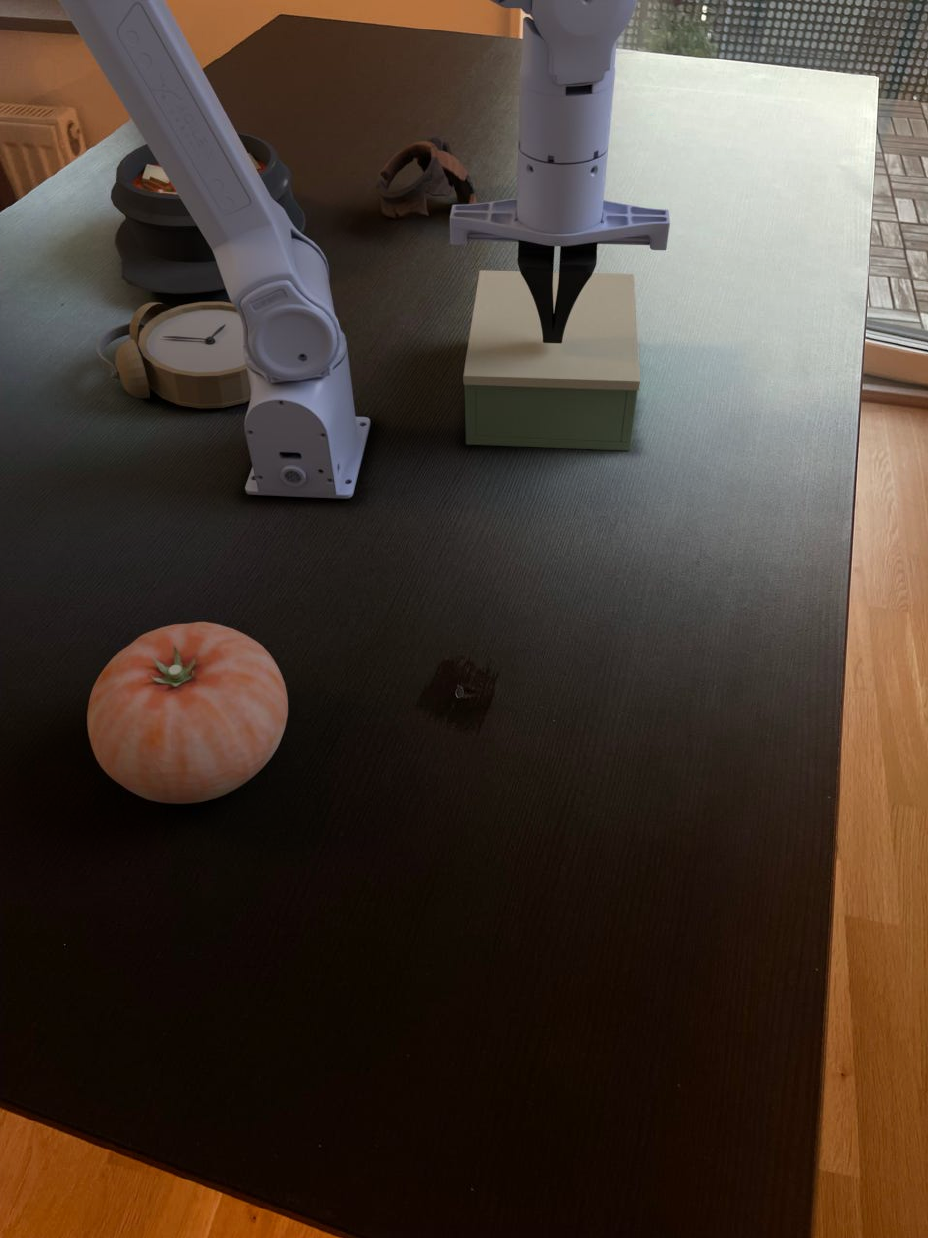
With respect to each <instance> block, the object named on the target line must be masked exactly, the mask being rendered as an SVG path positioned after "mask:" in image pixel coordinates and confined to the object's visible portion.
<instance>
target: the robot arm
mask: <svg viewBox="0 0 928 1238" xmlns="http://www.w3.org/2000/svg"><path fill="white" fill-rule="evenodd" d="M489 1H491V2H492V3H495V4H496V5H498V6H499V7H502V8H505V9H520V10H521V11H522V12H523V13H524V14H526V15H529V16H530V17H529V16H525V17H523V18H522V41H521V42H522V43H521V44H522V46H521V63H520V66H519V92H518V93H519V94H518V96H519V97H518V99H519V100H518V101H519V102H518V104H519V105H518V135H517V136H518V138H517V139H518V141H517V174H516V177H517V179H516V198H509V199H502V200H495V201H488V202H480V203H479V202H478V204H452V205H451V210H450V215H449V240H450V243H449V244H450V245H451V246H465V245H467V243H468V242H501V243H502V242H507V243H508V242H509V243H518V244H517V245H518V246H517V266H518V269H519V271H520V272H521V275H522V276H523V278H524V280H525V281H526V283H527V285H528V287H529V290H530V292H531V294H532V296H533V299H534V302H535V304H536V308H537V311H538V314H539V318H540V322H541V328H542V335H543V343H560V344H561V343H562V339H563V334H564V330H565V326H566V323H567V320H568V318H569V315H570V313H571V310H572V308H573V306H574V304H575V302H576V300H577V298H578V296H579V294H580V292H581V290H582V289H583V287H584V286H585V284H586V283H587V281H588V280H589V278H590V277H591V276H592V273H594V271H595V269H596V266H597V263H598V262H597V261H598V245H624V246H625V245H627V246H631V245H632V246H649V249H650V250H652V251H666V250H667V247H668V241H669V233H670V227H671V219H670V210H669V209H664V208H650V207H643V206H637V205H631V204H628V203H627V204H626V203H621V202H616V201H609V200H605V192H606V191H605V189H606V179H607V166H608V155H609V147H610V146H609V145H610V133H611V124H612V123H611V122H612V111H613V100H614V89H615V79H616V78H615V77H616V67H615V65H616V54H617V53H616V52H617V40H618V39H619V38H620V36H621V35H622V34H623V32H624V31H625V30H626V28H627V27H628V25H629V24H630V21H631V20H632V17H633V15H634V13H635V10H636V8H637V3H638V0H489ZM58 2H59V4H60V5H61V7H62V8H63V10H64V12H65V13H66V15H67V16H68V19H69V20H70V22H71V23H72V25H73V27H74V28H75V29H76V31H77V33H78V34H79V36H80V37H81V39H82V41H83V42H84V45H85V46H86V47H87V49H88V50H89V52H90V54H91V55H92V57H93V58H94V60H95V62H96V63H97V65H98V67H99V68H100V70H101V72H102V73H103V75H104V77H105V78H106V80H107V81H108V83H109V85H110V86H111V88H112V90H113V91H114V93H115V94H116V96H117V98H118V99H119V101H120V102H121V104H122V106H123V108H124V109H125V111H126V112H127V114H128V116H129V117H130V119H131V121H132V122H133V124H134V125H135V127H136V129H137V130H138V132H139V133H140V135H141V137H142V138H143V140H144V141H145V144H147V145H148V146H149V148H150V150H151V151H152V153H153V155H154V156H155V158H156V159H157V161H158V163H159V164H160V166H161V168H162V169H163V171H164V172H165V174H166V176H167V177H168V179H169V181H170V182H171V184H172V185H173V187H174V189H175V190H176V192H177V194H178V195H179V197H180V198H181V200H182V202H183V203H184V205H185V206H186V208H187V210H188V211H189V213H190V215H191V216H192V218H193V219H194V221H195V223H196V224H197V226H198V228H199V229H200V231H201V232H202V234H203V236H204V237H205V239H206V241H207V242H208V244H209V245H210V247H211V249H212V251H213V253H214V256H215V258H216V261H217V264H218V267H219V270H220V273H221V276H222V279H223V282H224V284H225V287H226V289H225V290H226V293H227V295H228V298H229V301H230V303H232V304H233V305H234V307H235V308H236V310H237V312H238V314H239V316H240V318H241V321H242V326H243V342H244V344H243V347H244V348H243V354H244V358H245V363H246V368H247V373H248V378H249V382H250V387H251V399H250V400H249V403H248V408H247V411H246V413H245V417H244V423H243V424H244V435H245V440H246V444H247V448H248V452H249V457H250V462H251V465H252V467H251V470H250V473H249V475H248V478H247V481H246V484H245V487H244V491H245V493H246V494H247V495H250V496H271V497H292V498H293V497H294V498H318V499H343V500H346V499H347V500H348V499H350V498H352V497H353V496H354V493H355V490H356V489H355V488H356V485H357V480H358V475H359V472H360V468H361V464H362V460H363V457H364V452H365V448H366V445H367V441H368V436H369V432H370V429H371V419H370V418H369V417H366V416H356V410H355V402H354V401H355V400H354V393H353V384H352V375H351V368H350V361H349V351H348V343H347V338H346V335H345V333H344V332H343V330H342V329H341V326H340V322H339V319H338V317H337V316H336V312H335V306H334V301H333V297H332V291H331V286H330V277H331V274H330V267H329V264H328V259H327V257H326V255H325V254H324V252H323V251H322V249H321V248H320V246H319V245H317V244H316V242H314V241H313V240H312V239H310V238H309V237H307V236H305V235H304V234H303V233H302V234H301V233H300V232H299V231H298V230H297V229H296V228H295V227H294V225H293V224H292V222H291V221H290V219H289V217H288V215H287V213H286V211H285V210H284V208H283V207H281V206H280V205H279V204H278V203H277V202H275V201H274V200H273V199H272V197H271V196H270V194H269V192H268V190H267V188H266V187H265V185H264V183H263V181H262V179H261V177H260V175H259V174H258V172H257V170H256V168H255V166H254V164H253V163H252V161H251V159H250V157H249V155H248V153H247V151H246V150H245V148H244V146H243V144H242V142H241V140H240V138H239V137H238V135H237V133H238V132H237V131H236V130H235V127H234V126H233V123H232V122H231V120H230V118H229V116H228V115H227V112H226V111H225V109H224V107H223V106H222V103H221V102H220V100H219V98H218V96H217V94H216V92H215V90H214V88H213V86H212V85H211V83H210V81H209V79H208V77H207V75H206V74H205V72H204V69H203V68H202V66H201V65H200V63H199V61H198V59H197V57H196V56H195V53H194V52H193V50H192V48H191V46H190V44H189V43H188V41H187V39H186V37H185V35H184V33H183V31H182V29H181V28H180V26H179V24H178V22H177V20H176V18H175V17H174V15H173V12H172V11H171V9H170V7H169V6H168V3H167V2H166V0H58ZM555 247H559V248H560V249H559V265H558V272H559V280H558V289H557V296H556V303H555V310H554V304H553V272H554V269H555V267H554V266H555V265H554V264H555Z"/></svg>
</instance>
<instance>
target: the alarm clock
mask: <svg viewBox="0 0 928 1238" xmlns="http://www.w3.org/2000/svg"><path fill="white" fill-rule="evenodd" d="M126 336H129V338H130V339H128V340H126V341H124V342H123V343H121V344H120V345H119V346H118V348H117V351H116V354H115V365H114V364H113V363H112V362H111V360H108V359H107V358H105V356H103V353H104V351H105V350H106V348H107V347H108V346H109V345H110V344H111V343H113V342H114V341H116V340H118V339H120V338H123V337H126ZM243 344H244V342H243V326H242V321H241V318H240V316H239V314H238V312H237V310H236V308H235V307H234V305H233V304H232V302H226V301H198V302H192V303H187V304H182V305H181V304H180V305H178V306H175V307H173V308H170V306H168V305H167V304H165V303H162V302H148V303H145V304H143V305H142V306H140V307H139V308H138V309H137V310H136V311H135V313H134V314H133V316H132V318H131V320H130V322H128V323H124V324H120V325H117V326H115V327H113V328H111V329H109V330H107V331H105V332H104V333H103V334H102V335H101V336H100V338H98V340H97V342H96V346H95V347H96V348H95V349H96V355H97V360H98V362H99V364H100V366H101V367H102V368H103V369H104V370H106V371H107V372H109V373H110V377H111V379H114V380H117V381H118V383H119V382H120V384H121V385H122V387H123V388H124V389H125V391H126V392H127V393H128V394H130V395H131V396H132V397H135V398H137V399H150V398H151V391H153V392H154V393H155V394H156V395H158V397H160V398H161V399H163V400H165V401H169V402H170V403H173V404H176V405H178V406H182V407H187V408H188V407H190V408H194V409H195V408H196V409H222V408H227V407H232V406H237V405H241V404H245V403H247V402H250V399H251V387H250V382H249V378H248V373H247V368H246V363H245V358H244V354H243V348H244V347H243ZM150 390H151V391H150Z"/></svg>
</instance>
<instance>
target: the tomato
mask: <svg viewBox="0 0 928 1238" xmlns="http://www.w3.org/2000/svg"><path fill="white" fill-rule="evenodd" d="M288 716H289V697H288V691H287V686H286V683H285V680H284V678H283V674H282V672H281V669H280V668H279V666H278V664H277V663H276V661H275V659H274V658H273V656H272V655H271V654H270V652H269V651H268V650H267V649H266V648H265V647H264V646H263V645H262V644H260V643H259V642H258V641H256V639H253V638H252V637H250V636H248V635H247V634H245V633H243V632H241V631H239V630H236V629H234V628H232V627H229V626H225V625H222V624H218V623H214V622H208V621H195V622H190V623H176V624H169V625H166V626H162V627H159V628H156V629H154V630H151V631H148V632H146V633H144V634H141V635H140V636H138V637H137V638H136V639H135V640H133V642H131V643H130V644H129V645H127V646H126V647H124V648H122V649H121V650H120V651H118V652H117V653H116V655H114V656H113V657H112V658H111V660H109V662H108V663H107V664H106V666H104V669H103V670H102V671H101V673H100V674H99V675H98V677H97V679H96V681H95V683H94V685H93V686H92V690H91V693H90V696H89V701H88V705H87V714H86V721H87V722H86V723H87V724H86V726H87V733H88V738H89V742H90V746H91V750H92V752H93V754H94V757H95V759H96V761H97V763H98V764H99V766H100V767H101V769H102V770H103V771H104V772H105V773H106V775H108V777H110V778H111V779H112V780H113V781H114V782H116V783H117V784H119V785H121V786H122V787H123V788H124V789H126V790H127V791H129V792H131V793H133V794H134V795H136V796H138V797H141V798H142V799H145V800H148V801H152V802H157V803H163V804H175V805H184V804H196V803H202V802H207V801H210V800H214V799H217V798H220V797H223V796H226V795H227V794H230V793H231V792H234V791H235V790H236V789H238V788H240V787H242V786H243V785H244V784H246V783H247V782H248V781H250V780H251V779H252V778H254V777H255V776H256V775H257V774H258V773H259V772H260V771H261V770H262V769H263V768H264V767H265V766H266V765H267V763H269V761H271V759H272V758H273V755H274V754H275V752H276V751H277V749H278V747H279V746H280V743H281V741H282V738H283V736H284V733H285V730H286V726H287V722H288Z"/></svg>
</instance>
